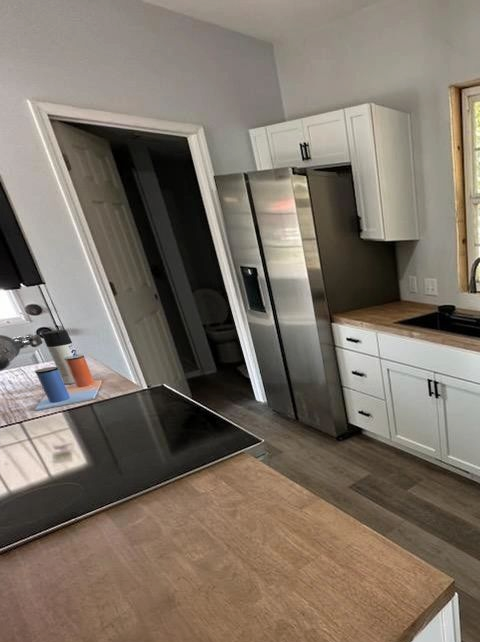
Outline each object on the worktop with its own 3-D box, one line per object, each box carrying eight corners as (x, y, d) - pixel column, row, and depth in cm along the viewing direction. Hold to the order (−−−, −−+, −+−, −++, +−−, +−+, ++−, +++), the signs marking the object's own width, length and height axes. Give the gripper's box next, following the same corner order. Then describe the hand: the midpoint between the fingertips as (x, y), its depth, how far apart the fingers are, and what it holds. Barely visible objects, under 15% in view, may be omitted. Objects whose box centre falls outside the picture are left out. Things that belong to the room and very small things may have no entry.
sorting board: (35, 410, 133) (34, 409, 133) (50, 391, 151) (49, 389, 150) (94, 399, 141) (93, 397, 141) (101, 381, 159) (101, 380, 159)
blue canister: (47, 404, 137) (32, 372, 133) (50, 399, 140) (36, 369, 137) (69, 399, 140) (55, 369, 136) (71, 395, 143) (58, 365, 140)
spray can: (85, 381, 159) (64, 331, 152) (61, 385, 156) (38, 334, 149) (90, 377, 164) (69, 328, 157) (66, 381, 161) (44, 331, 154)
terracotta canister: (75, 388, 151) (62, 359, 147) (77, 384, 154) (65, 356, 151) (94, 384, 154) (82, 356, 150) (96, 381, 157) (84, 353, 154)
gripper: (27, 333, 114) (38, 324, 126) (-54, 342, 105) (-34, 332, 117) (39, 358, 116) (49, 347, 128) (-40, 370, 108) (-21, 357, 120)
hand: (9, 340), depth 123 cm, fingers open, 8 cm apart
